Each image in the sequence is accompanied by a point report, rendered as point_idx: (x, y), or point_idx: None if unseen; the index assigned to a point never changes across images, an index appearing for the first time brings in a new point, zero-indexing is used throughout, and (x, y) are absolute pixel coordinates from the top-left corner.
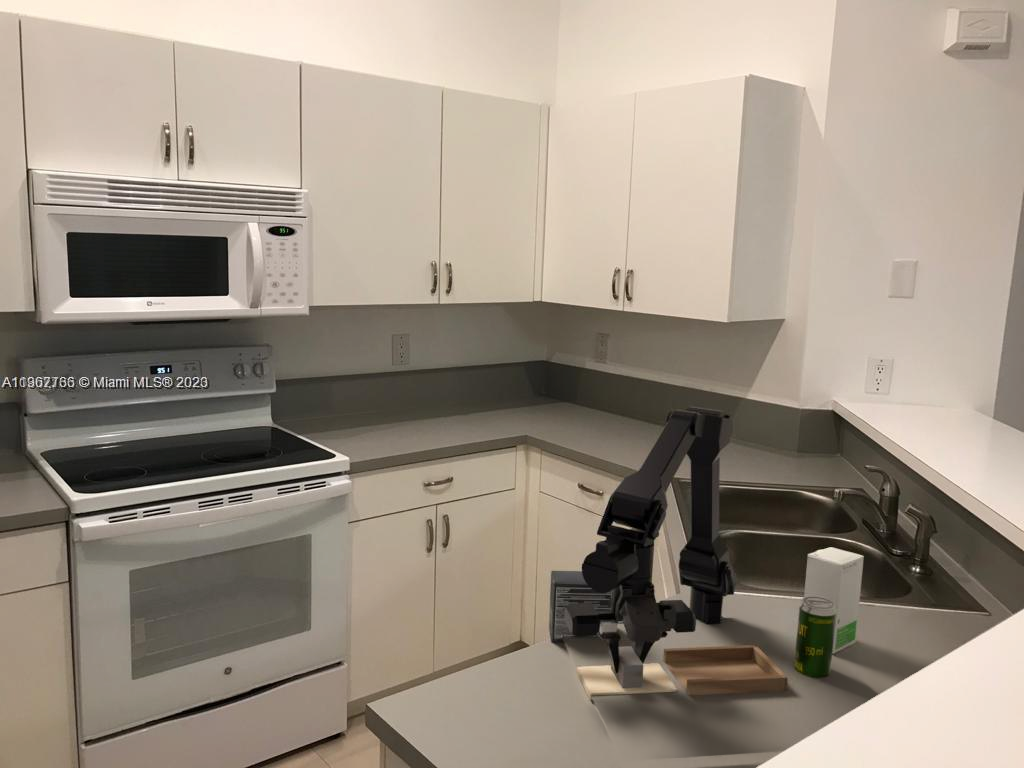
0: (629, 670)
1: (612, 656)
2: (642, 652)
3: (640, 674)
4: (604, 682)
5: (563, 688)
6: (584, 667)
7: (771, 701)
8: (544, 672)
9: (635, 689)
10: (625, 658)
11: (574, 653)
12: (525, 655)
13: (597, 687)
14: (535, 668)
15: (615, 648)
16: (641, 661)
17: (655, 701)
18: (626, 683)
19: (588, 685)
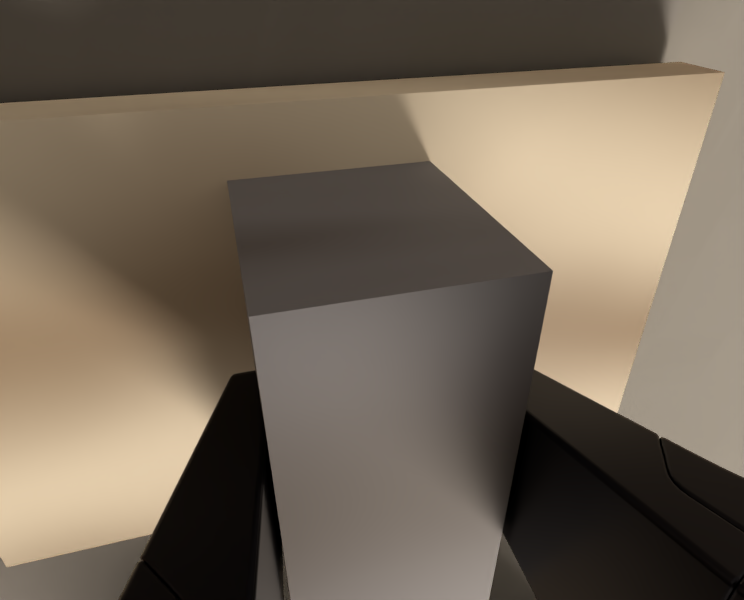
0: (440, 246)
1: (636, 426)
2: (239, 555)
3: (271, 238)
4: (537, 255)
5: (728, 243)
6: None
7: None
8: (721, 393)
9: (307, 136)
10: (447, 445)
11: (501, 564)
12: None
13: (627, 173)
14: (736, 420)
15: (712, 516)
16: (229, 449)
17: (86, 33)
18: (407, 182)
19: (672, 205)
